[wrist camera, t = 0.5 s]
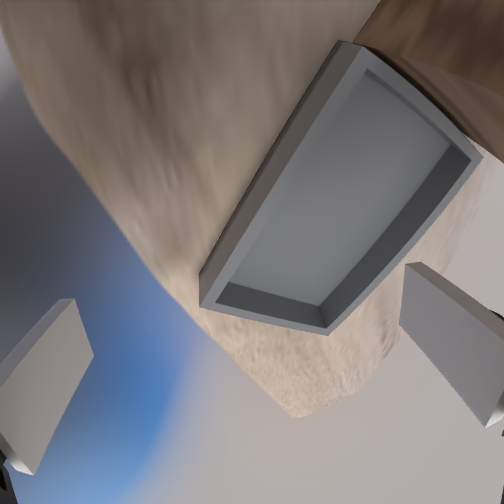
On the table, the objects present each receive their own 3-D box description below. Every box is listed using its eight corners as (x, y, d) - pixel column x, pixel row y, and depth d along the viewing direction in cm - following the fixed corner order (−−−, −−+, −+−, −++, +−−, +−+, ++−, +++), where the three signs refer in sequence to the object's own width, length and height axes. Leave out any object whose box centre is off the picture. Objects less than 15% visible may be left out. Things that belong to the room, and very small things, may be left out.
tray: (318, 306, 35) (327, 335, 32) (199, 274, 30) (199, 307, 27) (456, 137, 23) (483, 157, 20) (338, 40, 18) (362, 46, 15)
